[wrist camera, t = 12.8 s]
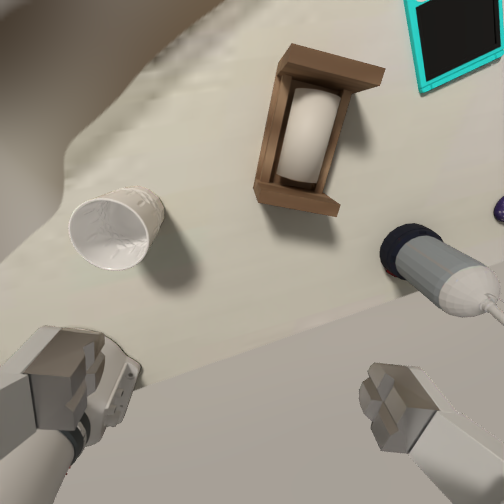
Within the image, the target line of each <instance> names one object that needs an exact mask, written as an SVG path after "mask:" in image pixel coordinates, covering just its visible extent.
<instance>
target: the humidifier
mask: <svg viewBox="0 0 504 504" xmlns="http://www.w3.org/2000/svg"><path fill="white" fill-rule="evenodd" d="M380 259H381V262H382V264H383V265H384V267H385V268H386V269H387V270H386V272H387V273H389V274H390V275H392V276H394V277H398V278H400V279H402V280H407V281H408V282H410V283H411V284H412V285H413V286H414V287H415V288H416V289H418V290H419V291H420V292H421V293H422V294H423V295H425V296H426V297H427V298H428V299H429V300H430V301H431V302H433V303H434V304H435V305H436V306H437V307H438V308H440V309H442V310H443V311H444V312H446V313H448V314H450V315H453V316H458V317H474V316H477V315H480V314H483V313H486V312H488V313H489V312H490V313H491V314H492V315H493V317H494V318H496V319H497V320H498V321H499V322H500V323H501V324H503V325H504V312H503V311H501V310H500V309H499V308H498V307H497V304H496V302H497V301H498V299H499V300H501V299H500V298H499V295H500V282H499V280H498V278H497V276H496V274H495V273H494V271H492V270H491V269H490V268H488V267H487V266H485V265H484V264H483V263H481V262H479V261H477V260H475V259H473V258H472V257H470V256H468V255H466V254H464V253H462V252H460V251H459V250H457V249H455V248H453V247H451V246H449V245H447V244H446V243H444V242H443V240H442V239H441V237H440V236H439V235H438V234H436V233H435V232H434V231H432V230H431V229H429V228H427V227H425V226H423V225H419V224H415V223H412V224H405V225H402V226H400V227H397V228H396V229H394V230H393V231H392V232H390V233H389V234H388V236H387V237H386V238H385V239H384V241H383V243H382V245H381V247H380ZM501 301H502V302H504V301H503V300H501Z"/></svg>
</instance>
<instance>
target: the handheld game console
mask: <svg viewBox="0 0 504 504" xmlns="http://www.w3.org/2000/svg"><path fill="white" fill-rule="evenodd" d="M403 1H404V6H405V12H406V18H407V24H408V30H409V36H410V42H411V48H412V54H413V60H414V66H415V72H416V78H417V84H418V90H419V92H420V93H425V92H427V91H429V90H431V89H434V88H436V87H438V86H441V85H443V84H445V83H447V82H449V81H451V80H453V79H455V78H457V77H459V76H461V75H463V74H465V73H468V72H470V71H472V70H474V69H476V68H478V67H480V66H482V65H485V64H487V63H489V62H491V61H493V60H495V59H497V58H499V57H501V56H502V55H503V54H504V50H503V49H504V28H503V8H502V0H403Z"/></svg>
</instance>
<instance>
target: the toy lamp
mask: <svg viewBox="0 0 504 504" xmlns="http://www.w3.org/2000/svg"><path fill="white" fill-rule="evenodd" d="M494 215H495V217H496V219H497V220H499V221H503V222H504V196H503V197H502V198H501V199H500V200H499V201H498V203H497V205H496V206H495V209H494Z"/></svg>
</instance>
